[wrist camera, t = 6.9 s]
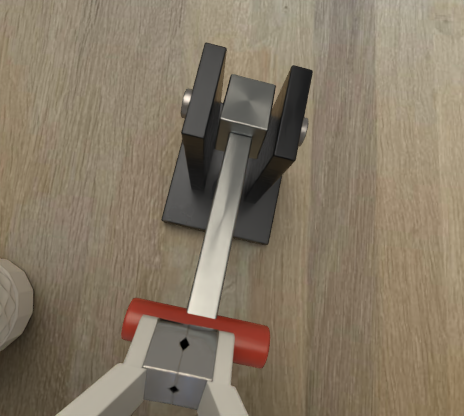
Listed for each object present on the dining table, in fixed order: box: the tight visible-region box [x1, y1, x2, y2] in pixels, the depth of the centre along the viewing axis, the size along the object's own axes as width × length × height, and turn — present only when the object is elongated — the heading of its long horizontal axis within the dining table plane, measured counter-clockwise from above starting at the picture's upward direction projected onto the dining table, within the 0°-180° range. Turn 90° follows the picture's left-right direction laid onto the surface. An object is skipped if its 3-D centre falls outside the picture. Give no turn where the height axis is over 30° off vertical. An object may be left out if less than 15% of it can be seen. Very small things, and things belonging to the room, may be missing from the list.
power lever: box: [121, 74, 276, 368], centre depth 14 cm, size 12×5×2 cm, turn 167°
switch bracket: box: [162, 43, 313, 245], centre depth 20 cm, size 10×8×12 cm
